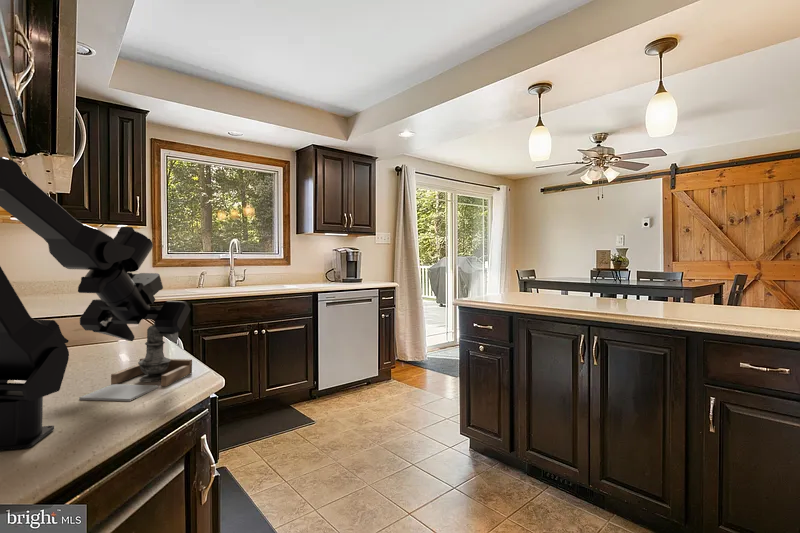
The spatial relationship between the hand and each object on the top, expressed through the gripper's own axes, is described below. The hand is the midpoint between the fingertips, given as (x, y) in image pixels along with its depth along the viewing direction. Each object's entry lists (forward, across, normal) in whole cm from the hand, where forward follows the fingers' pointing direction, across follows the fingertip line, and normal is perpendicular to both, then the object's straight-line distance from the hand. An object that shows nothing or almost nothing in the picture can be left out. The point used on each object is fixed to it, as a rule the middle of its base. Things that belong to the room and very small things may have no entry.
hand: (154, 339), depth 86 cm
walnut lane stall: (+6, 0, +6) cm, 8 cm away
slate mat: (-1, 0, +13) cm, 13 cm away
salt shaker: (+6, 0, +6) cm, 8 cm away
